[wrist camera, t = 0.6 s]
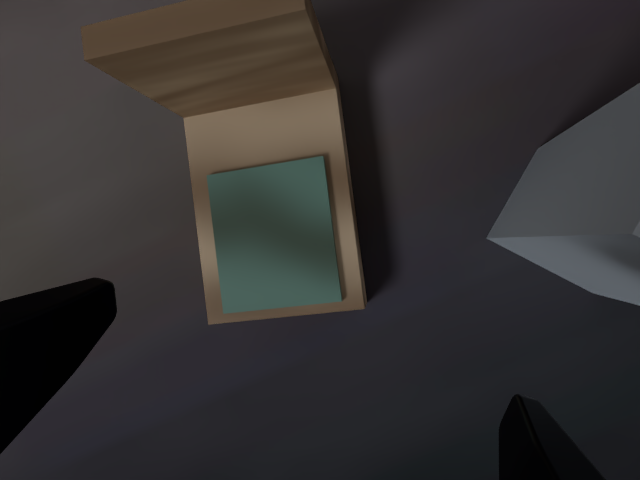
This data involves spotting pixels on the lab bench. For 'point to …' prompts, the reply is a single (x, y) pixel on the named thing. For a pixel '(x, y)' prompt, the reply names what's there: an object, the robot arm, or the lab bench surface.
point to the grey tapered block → (583, 203)
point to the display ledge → (251, 147)
